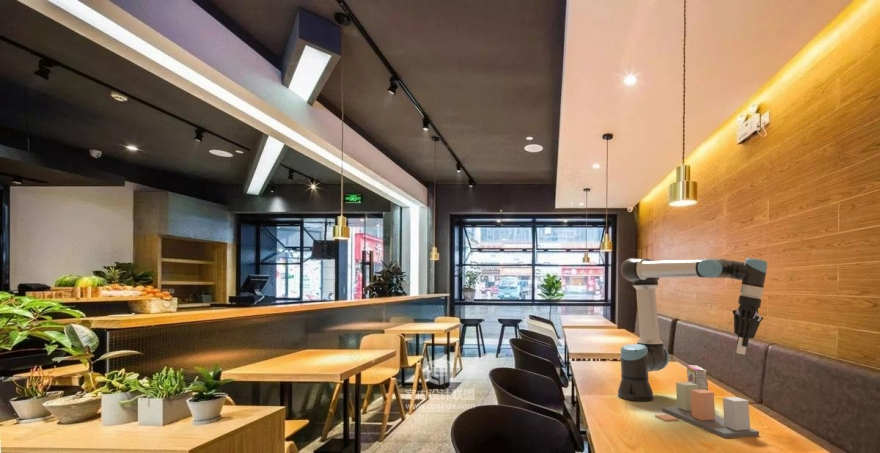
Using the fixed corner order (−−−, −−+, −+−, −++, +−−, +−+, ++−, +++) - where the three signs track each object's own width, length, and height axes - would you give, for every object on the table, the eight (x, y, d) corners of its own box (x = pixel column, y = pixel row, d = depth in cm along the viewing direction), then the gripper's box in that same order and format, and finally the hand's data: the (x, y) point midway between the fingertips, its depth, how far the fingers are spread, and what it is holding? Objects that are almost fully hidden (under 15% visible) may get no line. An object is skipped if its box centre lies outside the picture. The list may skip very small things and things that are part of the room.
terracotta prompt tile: (654, 416, 181) (654, 415, 181) (668, 415, 182) (668, 414, 182) (665, 421, 175) (665, 419, 175) (678, 420, 176) (678, 418, 176)
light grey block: (724, 426, 165) (722, 397, 166) (738, 425, 166) (736, 396, 167) (736, 430, 160) (734, 401, 161) (750, 429, 161) (748, 400, 162)
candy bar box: (687, 402, 202) (686, 364, 204) (700, 403, 201) (698, 365, 203) (696, 409, 191) (694, 369, 193) (709, 410, 190) (707, 370, 192)
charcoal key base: (662, 411, 188) (662, 407, 188) (691, 409, 191) (691, 406, 191) (725, 438, 157) (725, 433, 157) (759, 435, 160) (758, 431, 160)
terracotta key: (691, 416, 176) (690, 389, 177) (705, 415, 177) (703, 389, 178) (701, 420, 171) (700, 393, 172) (715, 419, 172) (713, 392, 173)
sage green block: (677, 407, 188) (676, 382, 189) (689, 406, 189) (688, 382, 190) (686, 410, 183) (684, 385, 184) (698, 410, 184) (697, 384, 186)
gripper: (772, 300, 179) (762, 359, 179) (745, 295, 192) (736, 350, 192) (755, 297, 178) (745, 357, 178) (730, 292, 191) (720, 347, 191)
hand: (740, 353), depth 185 cm, fingers closed
